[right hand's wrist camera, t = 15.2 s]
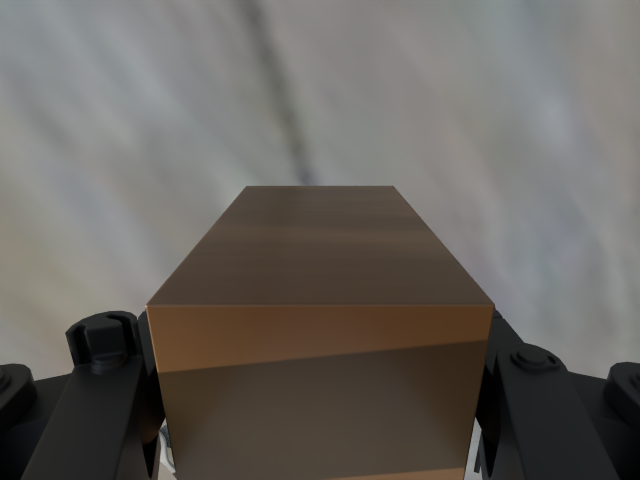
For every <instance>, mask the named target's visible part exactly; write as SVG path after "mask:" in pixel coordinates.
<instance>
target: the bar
mask: <svg viewBox="0 0 640 480" xmlns="http://www.w3.org/2000/svg"><path fill="white" fill-rule="evenodd" d="M494 310H495V304H494V303H493V302H492V300H491V299H490V298H489V297H488V296H487V295H486V293H485V292H484V291H483V290H482V289H481V288H480V286H479V285H478V284H477V283H476V282H475V281H474V279H473V278H472V277H471V276H470V275H469V274H468V272H467V271H466V270H465V269H464V268H463V267H462V265H461V264H460V263H459V262H458V261H457V260H456V258H455V257H454V256H453V255H452V254H451V253H450V251H449V250H448V249H447V248H446V247H445V246H444V244H443V243H442V242H441V241H440V240H439V239H438V237H437V236H436V235H435V234H434V233H433V232H432V230H431V229H430V228H429V227H428V226H427V225H426V223H425V222H424V221H423V220H422V219H421V218H420V216H419V215H418V214H417V213H416V212H415V211H414V209H413V208H412V207H411V206H410V205H409V204H408V202H407V201H406V200H405V199H404V198H403V197H402V195H401V194H400V193H399V192H398V191H397V190H396V188H395V187H394V186H246V187H245V188H244V189H243V191H242V192H241V193H240V194H239V195H238V197H237V198H236V199H235V200H234V201H233V202H232V204H231V205H230V206H229V207H228V208H227V210H226V211H225V212H224V213H223V214H222V215H221V217H220V218H219V219H218V220H217V221H216V223H215V224H214V225H213V226H212V227H211V228H210V230H209V231H208V232H207V233H206V234H205V236H204V237H203V238H202V239H201V240H200V241H199V243H198V244H197V245H196V246H195V247H194V248H193V250H192V251H191V252H190V253H189V254H188V256H187V257H186V258H185V259H184V260H183V261H182V263H181V264H180V265H179V266H178V267H177V269H176V270H175V271H174V272H173V273H172V274H171V276H170V277H169V278H168V279H167V280H166V282H165V283H164V284H163V285H162V286H161V287H160V289H159V290H158V291H157V292H156V293H155V295H154V296H153V297H152V298H151V299H150V300H149V302H148V303H147V304H146V311H147V317H148V322H149V328H150V333H151V339H152V345H153V350H154V356H155V361H156V367H157V372H158V378H159V383H160V389H161V395H162V400H163V406H164V411H165V417H166V422H167V428H168V433H169V439H170V444H171V450H172V456H173V461H174V467H175V472H176V478H177V480H464V476H465V471H466V465H467V459H468V454H469V448H470V443H471V437H472V432H473V426H474V421H475V415H476V410H477V404H478V399H479V393H480V387H481V382H482V376H483V371H484V365H485V360H486V354H487V349H488V343H489V338H490V332H491V327H492V321H493V315H494Z"/></svg>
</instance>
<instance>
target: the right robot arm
mask: <svg viewBox="0 0 640 480" xmlns="http://www.w3.org/2000/svg"><path fill="white" fill-rule="evenodd" d="M65 334H66V337H67V341H68V345H69V348H70V352H71V356H72V359H73V363H74V369H73V371H72V373H70V374H66V375H62V376H57V377H52V378H47V379H42V380H37V381H34V379H33V376H32V373H31V370H30V369H29V368H28V367H27V366H25V365H22V364H6V365H0V480H158V472H159V463H160V455H161V441H160V435H159V430H160V428H161V426H162V423H163V421H164V419H165V411H164V406H163V400H162V395H161V389H160V383H159V378H158V372H157V367H156V361H155V356H154V350H153V345H152V339H151V333H150V328H149V322H148V317H147V311H146V309H145V312H143V313H142V314H141V315H140V316H139V317H138V320H137V317H136V316H135V315H133V314H132V313H130V312H125V311H108V312H104V313H99V314H95V315H92V316H90V317H87V318H84V319H82V320H81V321H79V322H77V323H76V324H74V325H72V326H71V327H70V328H69V329H68V330H67V331H66V333H65ZM475 417H476V419H477V421H478V423H479V425H480V427H481V429H482V430H481V435H480V441H479V446H478V451H477V456H476V461H475V467H474V472H476V473H479V471H480V466H481V471H482V479H483V480H640V363H632V362H622V363H616V364H615V365H613V366H612V367H611V368H610V371H609V374H608V377H607V379H602V378H597V377H592V376H587V375H582V374H577V373H573V372H569V371H568V370H567V368H566V366H565V365H564V364H563V363H562V361H561V360H560V359H559V358H558V357H557V356H555V355H554V354H552V353H551V352H549V351H547V350H545V349H543V348H541V347H538V346H535V345H531V344H527V343H524V342H523V341H522V339H521V338H520V337H519V336H518V335H517V333H516V332H515V331H514V330H513V329H512V327H511V326H510V325H509V324H508V323H507V321H506V320H505V319H503V318H502V315H501V314H500V313H499V312H498V311H497V310H496V308H495V310H494V315H493V321H492V327H491V332H490V338H489V343H488V349H487V354H486V360H485V365H484V371H483V376H482V382H481V387H480V393H479V399H478V404H477V410H476V415H475Z"/></svg>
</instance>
